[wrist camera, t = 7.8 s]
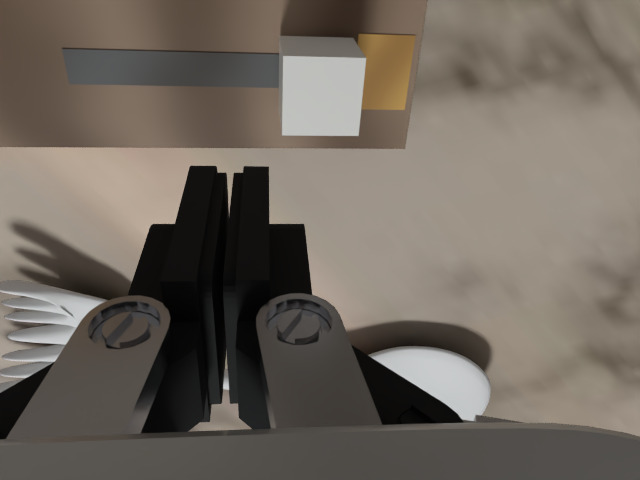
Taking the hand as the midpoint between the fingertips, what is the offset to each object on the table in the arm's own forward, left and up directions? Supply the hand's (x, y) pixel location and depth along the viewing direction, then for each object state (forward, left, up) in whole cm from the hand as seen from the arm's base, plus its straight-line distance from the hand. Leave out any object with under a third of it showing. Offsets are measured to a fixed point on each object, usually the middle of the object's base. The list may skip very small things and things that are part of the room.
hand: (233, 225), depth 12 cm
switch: (-3, 0, -12) cm, 13 cm away
